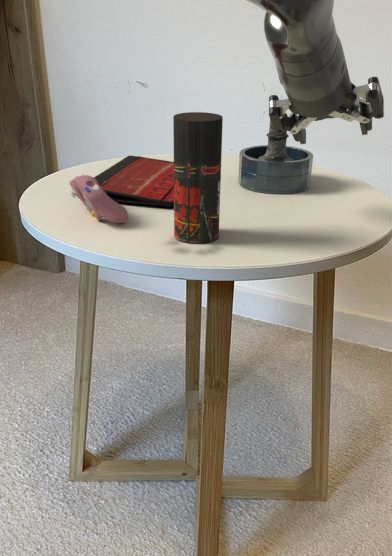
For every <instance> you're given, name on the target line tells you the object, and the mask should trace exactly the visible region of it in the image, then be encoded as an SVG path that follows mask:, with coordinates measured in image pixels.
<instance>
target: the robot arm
mask: <svg viewBox="0 0 392 556" xmlns="http://www.w3.org/2000/svg"><path fill="white" fill-rule="evenodd" d="M246 1H248V2H249V3H251V4H253V5H255V6H256V7H258V8H260V9H262V10H263V11H265V14H264V19H263V32H264V36H265V41H266V43H267V46H268V47H269V48H268V49H269V50H270V53H271V55H272V58H273V60H274V63H275V67H276V72H277V75H278V79H279V83H280V84H281V85H282V87H283V89H284V92H285V94H286V96H287V98H284V99H280V97H279V96H278V95H277V94H272V95H269V97H268V117H269V121H270V120H271V122H272V125H273V127H274V130H275V133H276V134H283V133H284V131H287V132H288V133H289V134H290V135H292V138H293V140H294V141H295V142H299V143H300V145H307V127H308V126H310V124H311V123H312V122H319V121H322V120H323V121H324V120H326V119H337V118H339V119H342V120H344V121H347V122H348V123H351V122H354V121H355V122H358V123H359V128H360V132H361V135H362V136H367V135H368V132H371V131H373V130H372V129H373V118H374V119H376V120H379V119H382V118H384V117H385V104H384V103H385V102H384V100H385V99H384V94H383V91H382V88H381V84H380V80H379V77H378V76H370V77H369V78H368V80H367V84H363V85H358V86H356V84H355V83H353V82H352V81H351V77H350V74H349V69H348V65H347V60H346V56H345V52H344V47H343V44H342V42H341V39H340V36H339V35H338V32H337V29H336V24H335V20H334V16H333V13H334V5H335V0H246ZM288 110H289V111H290V114H289V115H288V117H284V114H285V113H286V112H287V111H288ZM286 114H287V113H286Z"/></svg>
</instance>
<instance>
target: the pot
mask: <svg viewBox="0 0 392 556" xmlns="http://www.w3.org/2000/svg"><path fill="white" fill-rule="evenodd" d="M267 148H268V144H263V145H253V146H248V147H245V148H242V149H241V150H240V151H239V159H238V174H237V175H238V178H237V179H238V182H237V183H238V185H239V187H241V188H243V189H245V190H249V191H252V192H256V193H260V194H269V195H288V194H289V195H290V194H291V195H292V194H297V193H302V192H304V191H306V190H308V189H309V188H310V186H311V180H312V171H313V162H314V154H313V153H312V152H311V151H310V150H308V149H304V148H301V147H296V146H291V145H290V146H289V145H286V153H287V156H288V157H291V158H292V159H293V160H294V161H266V160H259V159H258V158H259V157H260V156H264V155H265V154H266V151H267Z"/></svg>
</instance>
